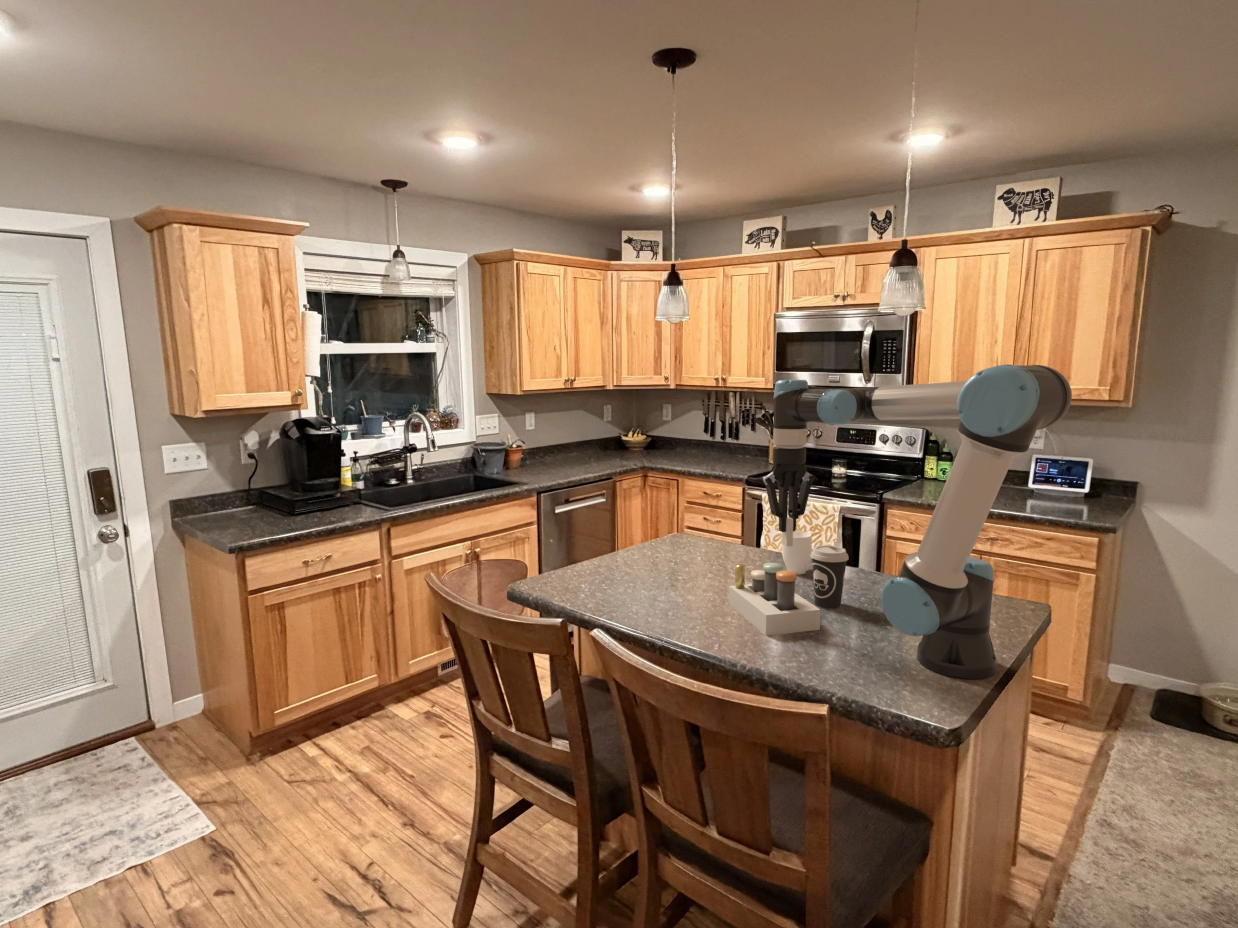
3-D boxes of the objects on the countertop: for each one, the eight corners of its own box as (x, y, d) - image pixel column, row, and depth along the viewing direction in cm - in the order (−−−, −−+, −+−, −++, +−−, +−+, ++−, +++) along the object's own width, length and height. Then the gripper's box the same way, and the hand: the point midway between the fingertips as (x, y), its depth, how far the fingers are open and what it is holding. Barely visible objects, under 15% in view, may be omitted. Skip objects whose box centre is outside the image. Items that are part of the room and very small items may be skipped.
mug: (803, 578, 204) (803, 538, 202) (776, 573, 210) (776, 534, 208) (820, 568, 213) (820, 530, 211) (793, 564, 219) (793, 527, 217)
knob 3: (799, 613, 165) (800, 575, 163) (780, 614, 164) (782, 577, 162) (789, 606, 169) (790, 570, 168) (771, 608, 168) (772, 571, 167)
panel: (819, 629, 165) (820, 609, 164) (765, 635, 162) (766, 615, 161) (777, 599, 186) (777, 581, 185) (728, 604, 183) (728, 585, 182)
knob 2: (785, 603, 171) (786, 567, 170) (767, 605, 170) (768, 568, 169) (776, 596, 176) (777, 562, 175) (759, 598, 175) (760, 563, 174)
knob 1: (772, 609, 179) (773, 574, 177) (755, 610, 178) (755, 576, 176) (763, 602, 183) (764, 569, 182) (747, 604, 182) (747, 570, 181)
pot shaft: (746, 588, 180) (746, 566, 179) (737, 589, 179) (737, 566, 178) (742, 585, 182) (742, 563, 181) (733, 586, 181) (734, 564, 181)
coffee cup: (848, 612, 176) (851, 555, 174) (809, 609, 178) (812, 553, 176) (844, 599, 186) (846, 545, 183) (807, 597, 187) (809, 543, 185)
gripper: (806, 443, 166) (804, 539, 170) (756, 445, 163) (754, 542, 167) (823, 447, 159) (819, 546, 162) (771, 449, 156) (768, 550, 159)
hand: (786, 544), depth 164 cm, fingers closed
